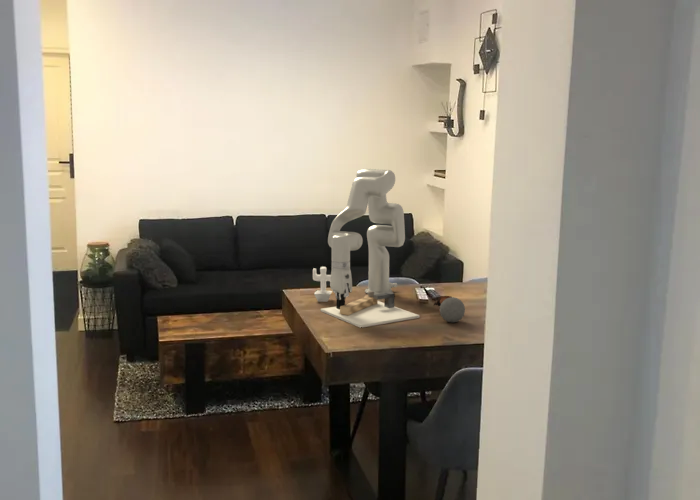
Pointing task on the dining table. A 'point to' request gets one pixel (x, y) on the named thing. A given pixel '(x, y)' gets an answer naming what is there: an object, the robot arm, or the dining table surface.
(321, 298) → the figurine
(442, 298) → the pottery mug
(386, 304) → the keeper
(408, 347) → the dining table surface
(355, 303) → the oak link
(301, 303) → the dining table surface
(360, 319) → the pivot board
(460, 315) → the decorative ball
